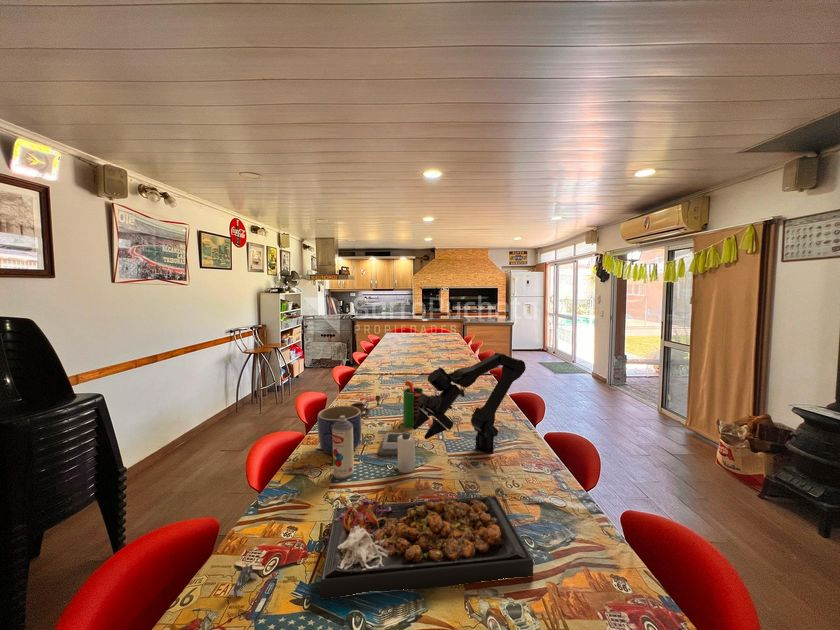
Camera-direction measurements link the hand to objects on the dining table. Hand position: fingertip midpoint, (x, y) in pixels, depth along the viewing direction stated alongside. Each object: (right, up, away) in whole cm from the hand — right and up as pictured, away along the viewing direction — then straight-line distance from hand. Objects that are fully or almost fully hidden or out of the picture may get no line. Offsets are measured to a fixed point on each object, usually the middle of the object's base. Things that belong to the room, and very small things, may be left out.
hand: (419, 433), depth 126 cm
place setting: (-28, -8, +57) cm, 63 cm away
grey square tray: (-8, -11, +15) cm, 20 cm away
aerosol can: (-26, -12, -5) cm, 29 cm away
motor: (-3, -9, +40) cm, 41 cm away
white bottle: (-4, -12, -1) cm, 13 cm away
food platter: (+1, -15, -39) cm, 42 cm away
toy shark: (-36, -16, -47) cm, 61 cm away
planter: (-31, -11, +14) cm, 36 cm away
